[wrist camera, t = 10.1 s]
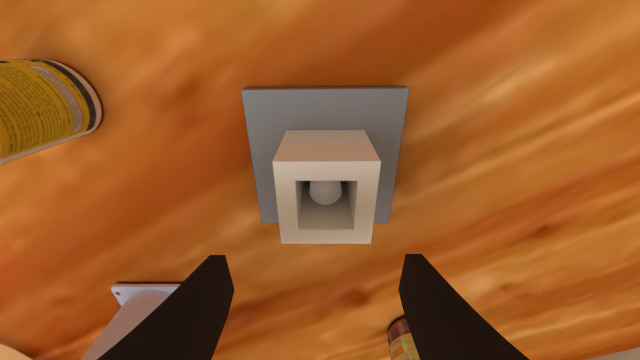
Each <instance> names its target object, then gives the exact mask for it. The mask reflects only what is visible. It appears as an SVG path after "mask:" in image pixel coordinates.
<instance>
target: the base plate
mask: <svg viewBox="0 0 640 360" xmlns="http://www.w3.org/2000/svg"><path fill="white" fill-rule="evenodd" d="M241 92H242V98H243V105H244V111H245V118H246V124H247V131H248V137H249V144H250V150H251V156H252V163H253V169H254V176H255V182H256V189H257V195H258V202H259V208H260V214H261V221H262V223H279V219H278V209H277V200H276V191H275V181H274V172H273V163H272V161H273V159H274V157H275V155H276V152H277V150H278V148H279V146H280V144H281V141H282V139H283V137H284V135H285V132H286V130H365V132H366V134H367V136H368V138H369V140H370V142H371V144H372V145H373V147H374V149H375V151H376V153H377V155H378V157H379V159H380V160H381V166H380V174H379V182H378V190H377V198H376V206H375V214H374V222H373V223H389V217H390V210H391V204H392V197H393V191H394V184H395V178H396V171H397V165H398V159H399V152H400V146H401V139H402V133H403V126H404V120H405V114H406V107H407V101H408V94H409V88H407V87H405V86H380V87H276V88H244V89H242V90H241ZM304 184H310V196H311V198H312V199H313V200H314V201H315V202H316V203H318V204H321V205H330V204H333V203H335V202H336V201H337V200H338V199H339V198H340V196H341V193H342V190H341V184H346V181H304Z"/></svg>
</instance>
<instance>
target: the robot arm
mask: <svg viewBox="0 0 640 360" xmlns="http://www.w3.org/2000/svg"><path fill="white" fill-rule="evenodd" d="M111 291H112V292H113V294H114V295H115V297H116V299H117V300H118V302H119V303H120V305H121V308H120V309H119V311H118V312H117V313H116V314H115V316H114V317H113V318H112V320H111V321H110V322H109V323H108V325H107V326H106V327H105V328H104V330H103V331H102V332H101V334H100V335H99V336H98V337H97V339H96V340H95V341H94V343H93V344H92V345H91V346H90V348H89V349H88V350H87V351H86V353H85V354H84V355H83V357H82V358H81V359H80V360H211V359H212V356H213V353H214V351H215V348H216V346H217V343H218V340H219V338H220V335H221V332H222V330H223V327H224V324H225V322H226V319H227V316H228V313H229V309H230V305H231V301H232V297H233V293H234V287H233V283H232V279H231V275H230V272H229V268H228V264H227V260H226V257H225V255H210V256H209V257H208V258H207V259H206V260H205V261H204V262H203V263H202V264H201V265H200V266H199V267H198V268H197V269H196V270H195V271H194V272H193V273H192V274H191V275H190V276H189V277H188V278H187V279H186V280H185V281H184V282H183V283H182V284H114V285H113V286H112V287H111ZM399 293H400V298H401V302H402V306H403V310H404V314H405V318H406V321H407V324H408V327H409V329H410V332H411V335H412V338H413V341H414V344H415V347H416V349H417V352H418V355H419V358H420V360H529V359H528V358H527V357H526V356H524V355H523V354H522V353H521V352H520V351H519V350H517V349H516V348H515V347H514V346H513V345H511V344H510V343H509V342H508V341H507V340H506V339H505V338H504V337H503V336H501V335H500V334H499V333H498V332H497V331H496V330H495V329H494V328H493V327H492V326H491V325H490V324H489V323H487V322H486V321H485V320H484V319H483V318H482V317H481V316H480V315H479V314H478V313H477V312H476V311H475V310H474V309H473V308H472V307H471V306H470V305H469V304H468V303H467V302H466V301H465V300H464V299H463V298H462V297H461V296H460V295H459V294H458V293H457V292H456V291H455V290H454V289H453V288H452V287H451V285H450V284H449V283H448V282H447V281H446V280H445V279H444V278H443V277H442V276H441V275H440V274H439V273H438V271H437V270H436V269H435V268H434V267H433V266H432V265H431V264H430V263H429V262H428V261H427V260H426V258H425V257H424V256H423V255H422V254H406V255H405V260H404V265H403V270H402V275H401V279H400V284H399Z"/></svg>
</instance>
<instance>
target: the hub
mask: <svg viewBox="0 0 640 360" xmlns="http://www.w3.org/2000/svg"><path fill="white" fill-rule="evenodd" d="M272 163H273V172H274V181H275V191H276V200H277V209H278V219H279V228H280V237H281V244H371V238H372V230H373V222H374V214H375V206H376V198H377V190H378V182H379V174H380V166H381V160H380V159H379V157H378V155H377V153H376V151H375V149H374V147H373V145H372V144H371V142H370V140H369V138H368V136H367V134H366V132H365V130H286V132H285V135H284V137H283V139H282V141H281V144H280V146H279V148H278V150H277V152H276V155H275V157H274V159H273V161H272ZM304 181H346V184H341V190H342V193H341V196H340V198H339V199H338V200H337V201H336V202H335V203H333V204H330V205H321V204H318V203H316V202H315V201H314V200H313V199H312V198H311V196H310V184H304Z"/></svg>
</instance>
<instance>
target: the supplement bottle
mask: <svg viewBox="0 0 640 360" xmlns="http://www.w3.org/2000/svg"><path fill="white" fill-rule="evenodd" d="M101 116H102V110H101V105H100V102H99V99H98V97H97V95H96V93H95V92H94V90H93V89H92V87H91V86H90V85H89V84H88V83H87V81H86V80H85V79H84V78H82V77H81V76H80V75H79V74H78V73H76V72H75V71H74V70H72V69H71V68H69V67H67V66H65V65H63V64H61V63H59V62H56V61H52V60H47V59H17V60H0V165H2V164H5V163H8V162H10V161H13V160H16V159H19V158H22V157H24V156H27V155H30V154H33V153H36V152H39V151H41V150H44V149H47V148H50V147H53V146H56V145H59V144H61V143H64V142H67V141H70V140H73V139H75V138H78V137H81V136H84V135H87V134H89V133H91V132H92V131H94V130H95V129H96V128H97V126H98V125H99V123H100V120H101Z"/></svg>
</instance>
